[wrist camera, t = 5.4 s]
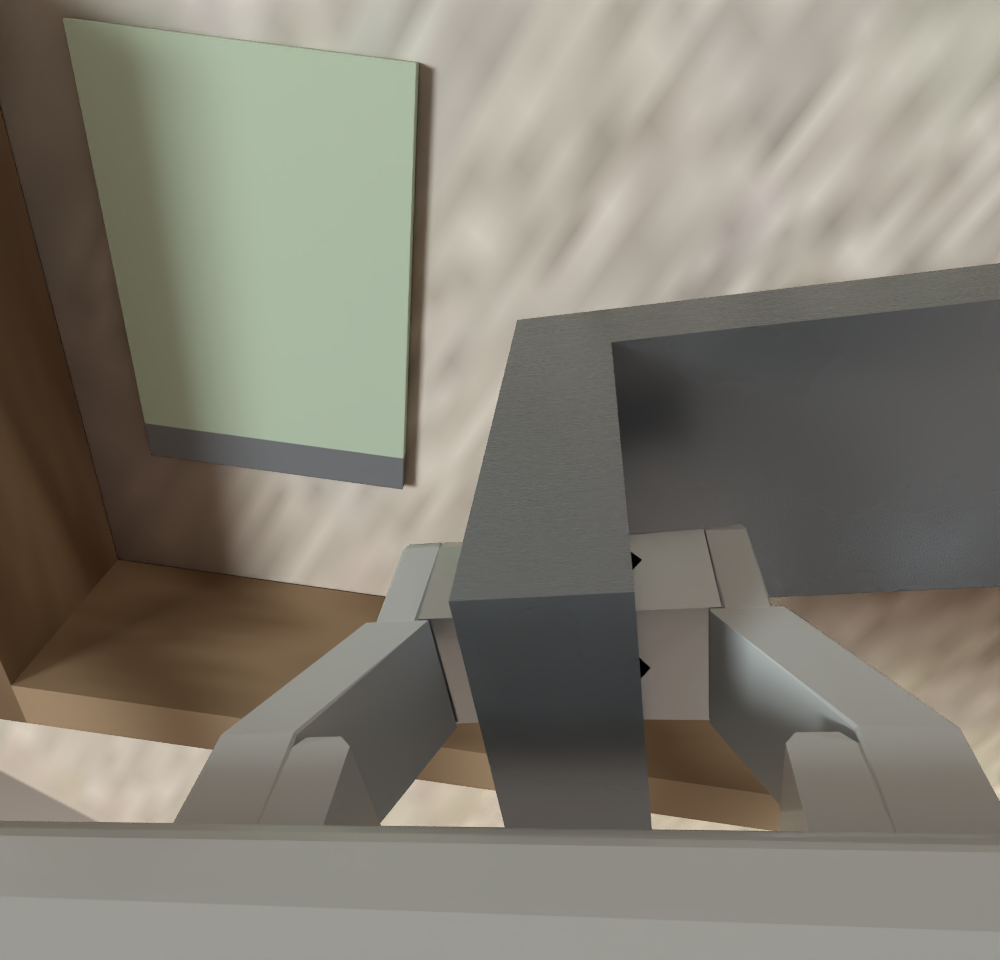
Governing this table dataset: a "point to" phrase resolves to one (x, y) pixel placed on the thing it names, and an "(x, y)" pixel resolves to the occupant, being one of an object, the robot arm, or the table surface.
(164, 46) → the mat
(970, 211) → the table surface
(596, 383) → the bracket
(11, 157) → the wooden corner frame
